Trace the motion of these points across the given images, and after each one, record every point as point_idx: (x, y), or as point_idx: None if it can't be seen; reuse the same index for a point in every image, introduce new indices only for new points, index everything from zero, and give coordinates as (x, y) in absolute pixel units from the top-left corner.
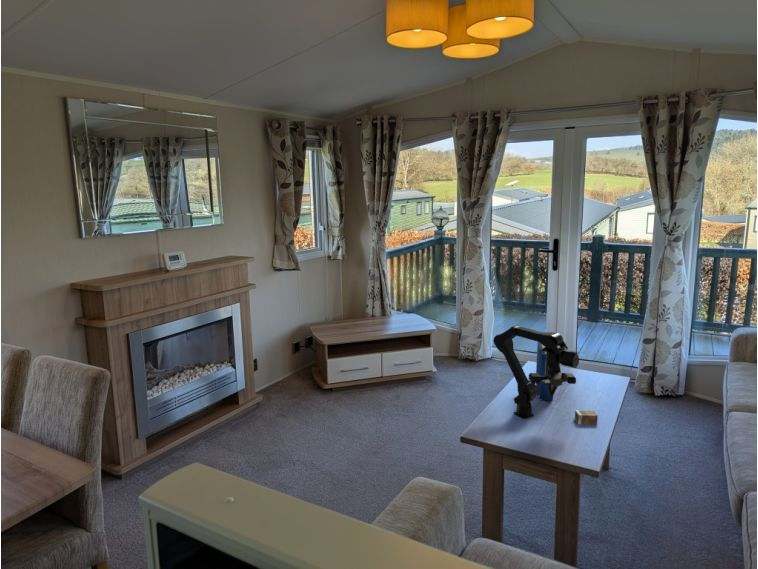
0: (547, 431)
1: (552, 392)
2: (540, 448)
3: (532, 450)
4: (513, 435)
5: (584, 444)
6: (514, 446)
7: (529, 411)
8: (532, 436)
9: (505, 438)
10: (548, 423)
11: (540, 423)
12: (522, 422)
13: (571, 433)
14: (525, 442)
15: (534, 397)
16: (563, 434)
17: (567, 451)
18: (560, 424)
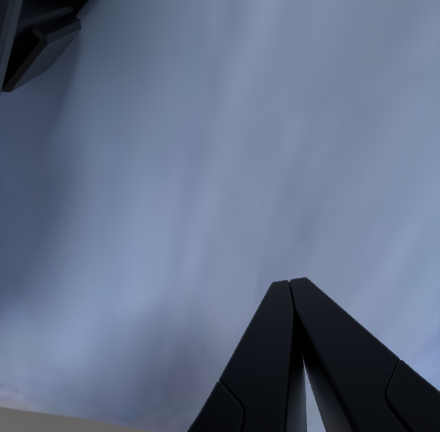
0: (232, 253)
1: (324, 421)
2: (192, 404)
3: (158, 420)
4: (40, 332)
5: (422, 345)
6: (77, 408)
7: (43, 62)
8: (144, 323)
9: (12, 363)
10: (247, 124)
11: (181, 140)
12: (39, 156)
13: (392, 247)
14: (117, 376)
15: (4, 70)
16: (332, 269)
17: (313, 405)
18: (349, 119)
